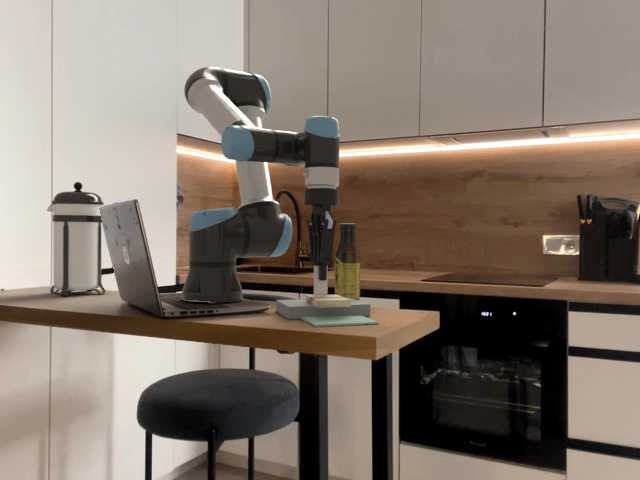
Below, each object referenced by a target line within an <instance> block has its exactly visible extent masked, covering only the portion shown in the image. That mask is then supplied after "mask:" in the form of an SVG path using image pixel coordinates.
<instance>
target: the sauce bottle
mask: <svg viewBox="0 0 640 480" xmlns="http://www.w3.org/2000/svg"><path fill="white" fill-rule="evenodd" d="M339 230H340V237H339V243H338V245H337V249H336V252H335V254H334V294H336V295H339V296H342V297H345V298H353V299H356V300H359V301H360V297H361V253H360V252H361V251H360V249H359V246H358V245H357V243H356V240H357V239H356V230H357V223H352V222H351V223H350V222H349V223H344V222H343V223H339Z"/></svg>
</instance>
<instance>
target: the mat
mask: <svg viewBox="0 0 640 480" xmlns="http://www.w3.org/2000/svg"><path fill="white" fill-rule="evenodd" d="M301 320H303V321H305V322H306V323H308V324H310V325H311V326H313V327H315V328H317V327H318V328H319V327H320V328H321V327H339V326H340V327H342V326H361V325H362V326H363V325H365V324H368V325H379V321H378V320H374V319H372V318H369V317H368V316H362V315H359V314H358V315H331V316H305V317H301Z"/></svg>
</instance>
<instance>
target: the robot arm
mask: <svg viewBox="0 0 640 480" xmlns="http://www.w3.org/2000/svg"><path fill="white" fill-rule="evenodd" d="M183 90H184V93H183V94H184V97H185V100H186V102H187V104H188V105H189V106H190V107H191V109H192V110H194V111H195V112H196V113H198V114H202V116H204V118H205V120H207V122H209V124H210V125H211V126H212V127H213V129H215V131H216V132H217V134H219V136H221V138H220V139H221V142H220V146H221V147H220V148H221V150H222V154H223V156H224V157H225V158H227V159H228V160H232V161H235V165H236V166H235V167H236V173H237V181H238V182H237V183H238V188H239V196H240V202H241V204H240V205H239V206H238V207H237V208H236V207H234V206H233V207H229V206H228V207H220V208H219V207H218V208H211V209H202V210H196V211H193V212H192V213H191V215H190V217H189V227H188V232H189V234H188V235H189V240H188V242H189V246H188V247H189V248H188V249H189V250H188V251H189V252H188V254H189V257H188V263H189V264H188V267H189V268H188V272H187V275H186V279H185V281H184V284H183V288H182V289H181V300H182V299H185V300H199V301H210V302H222V303H221V304H224V303H223V302H230V303H236V302H237V303H238V302H240V301H242V300H243V299H244V298H243V296H244V295H243V293H244V291H243V289H242V285H241V281H240V278H239V275H238V272H237V259H238V258H239V259H240V258H241V259H245V258H246V259H250V258H264V259H265V258H266V259H269V258H273V257H274V258H277V257H281V256H282V255H284V254H285V253H286V252H287V250H288V249H289V246H290V243H291V242H292V236H293V223H292V219H291V217H290V216H289V215H288V214H286V213H283V212H282V211H281V204H280V203H279V202H278V201H276V200H275V199H274V197H273V191H272V190H273V188H272V182H271V176H270V169H269V164H281V165H283V166H287V167H295V168H296V167H300V166H303V165H304V172H303V173H302V177H304V186H305V187H307V188H305V189H304V198H303V199H304V205H305V206H307V207H312V208H311V214H310V218H309V219H308V220H307V222H306V223H307V227H308V236H309V238H308V239H309V240H308V241H309V253H310V255H309V256H310V262H311V263H312V265H313V295H328V291H329V290H328V287H329V286H328V283H329V282H328V278H329V277H328V276H329V275H328V272H329V271H328V270H329V265H330V264H332V262H333V251H334V241H335V240H334V239H335V231H336V230H335V229H336V226H337V219H335V218H334V219H333V214H332V207H337V206H338V205H339V196H340V195H339V194H340V193H339V190H338V189H337V188H338V187H340V137H341V135H340V124H339V120H338V119H337V118H335V117H333V116H326V115H313V116H310V117H307V118H306V119H305V123H304V130H303V131H298V132H297V131H288V130H287V131H286V130H278V129H277V130H275V129H269V128H263V125H262V122H263V120H264V119H265V118H266V115H267V114H268V112H269V110H270V108H271V104H272V103H271V99H272V94H271V93H272V92H271V88H270V85H269V82H268V81H267V79H266V78H265V77H263V76H262V75H260V74H256V73H254V72H251V71H241V70H240V71H238V70H234V69H227V68H223V67H222V68H221V67H219V66H216V67H215V66H206V67H201V68H199V69H197V70H195V71H194V72H192V73H191V74H190V75H189V76H188V77H187V79H186V81H185V84H184V89H183Z"/></svg>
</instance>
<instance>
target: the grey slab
mask: <svg viewBox="0 0 640 480" xmlns="http://www.w3.org/2000/svg"><path fill="white" fill-rule="evenodd" d="M348 299H351V307H329V308H318V307H316V306H314V305H311V304H309V303H307V302H306V298H305V299H304V298H303V299H300V298H299V299H276V300H275V312H276V313H278V314H280V315H282V316H283V317H285V318H286V319H288V320H297V319H298V320H299V319H301V317H305V316H331V315H358V314H359V315H362V316H364V317H370V316H371V303H368V302H365V301H362V300H360V299H359V300H356V299H353V298H348ZM301 320H302V319H301Z"/></svg>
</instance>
